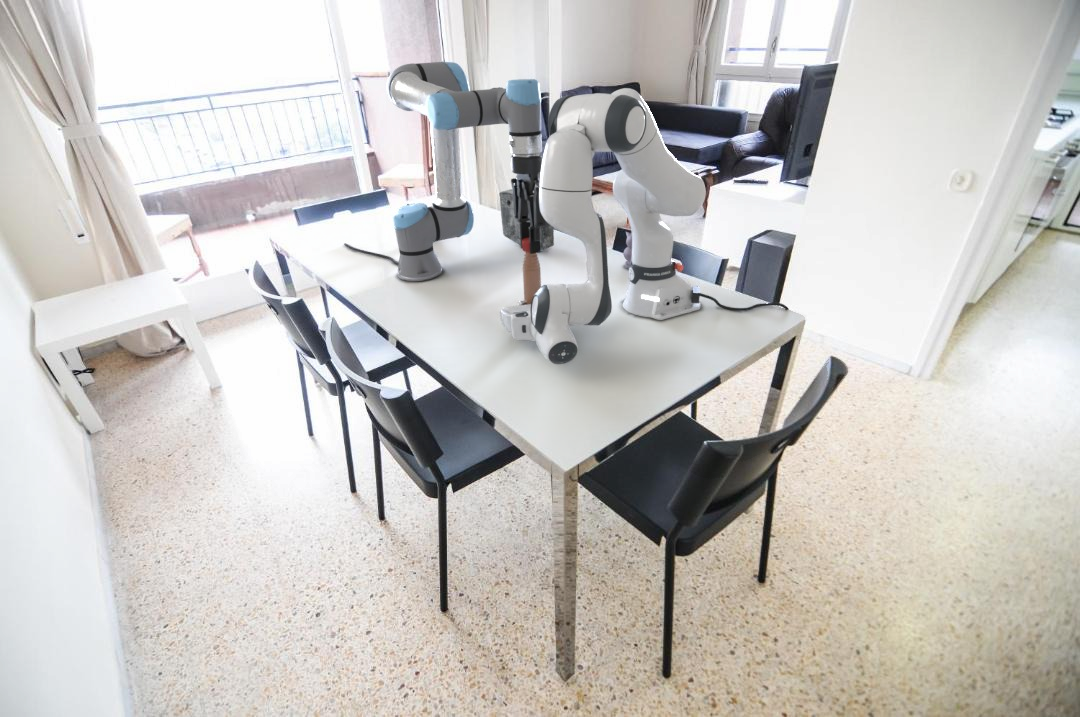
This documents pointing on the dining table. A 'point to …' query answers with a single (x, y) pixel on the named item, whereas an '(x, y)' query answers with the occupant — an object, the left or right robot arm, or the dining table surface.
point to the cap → (526, 245)
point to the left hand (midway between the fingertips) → (530, 249)
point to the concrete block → (513, 226)
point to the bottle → (531, 276)
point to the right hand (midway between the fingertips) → (532, 301)
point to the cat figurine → (628, 250)
